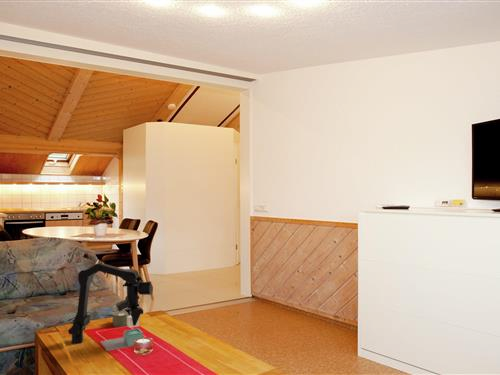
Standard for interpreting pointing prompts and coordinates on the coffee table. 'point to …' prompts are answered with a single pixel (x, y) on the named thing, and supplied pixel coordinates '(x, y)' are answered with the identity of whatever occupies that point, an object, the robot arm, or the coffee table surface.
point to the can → (120, 318)
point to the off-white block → (130, 323)
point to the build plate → (123, 340)
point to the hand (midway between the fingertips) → (133, 324)
